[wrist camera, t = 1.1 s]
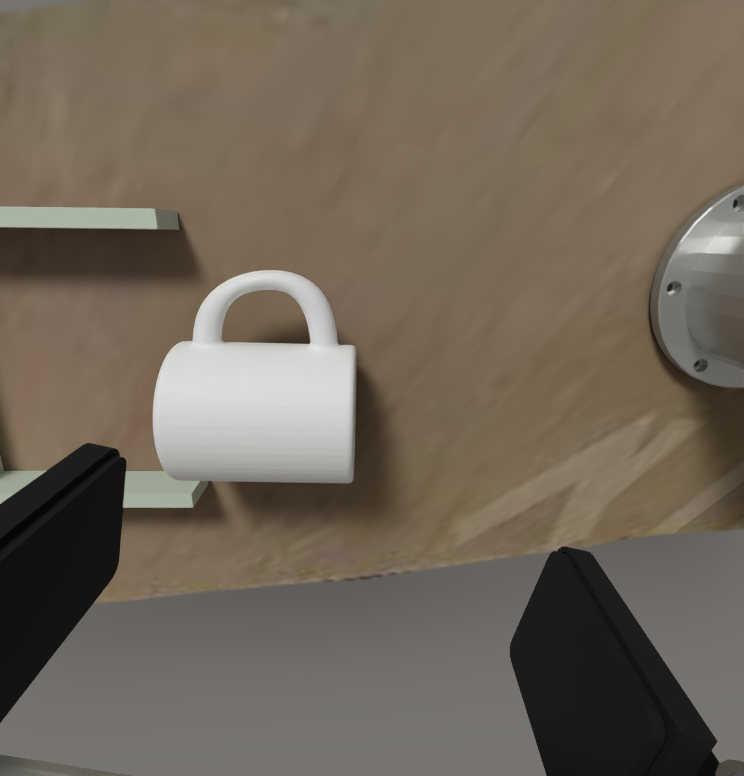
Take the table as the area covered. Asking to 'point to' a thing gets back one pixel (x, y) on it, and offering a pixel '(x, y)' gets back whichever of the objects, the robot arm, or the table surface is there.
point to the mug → (258, 396)
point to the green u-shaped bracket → (139, 485)
